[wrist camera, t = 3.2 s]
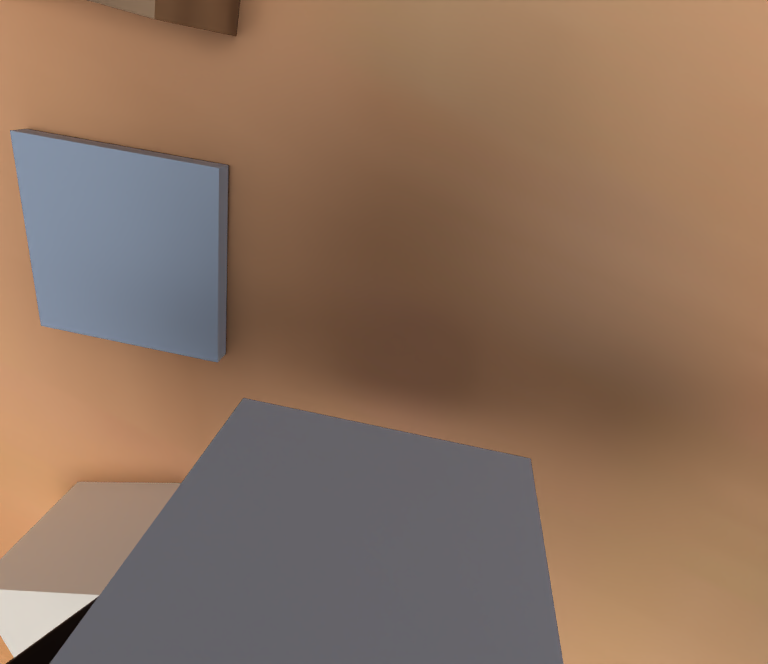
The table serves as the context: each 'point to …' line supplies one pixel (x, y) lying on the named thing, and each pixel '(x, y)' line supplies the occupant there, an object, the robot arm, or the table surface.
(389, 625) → the blue cube
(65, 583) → the cream cube
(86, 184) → the tile
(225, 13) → the walnut block
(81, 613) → the robot arm
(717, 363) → the table surface
